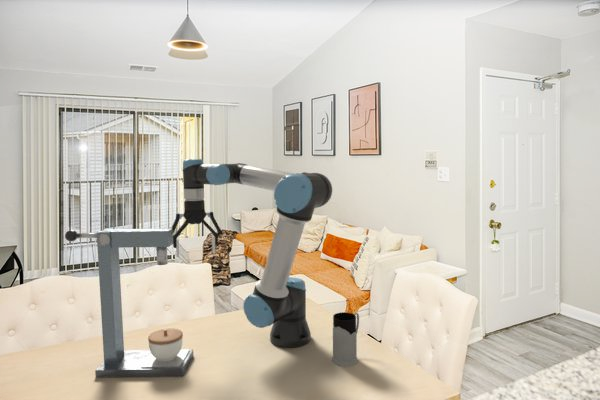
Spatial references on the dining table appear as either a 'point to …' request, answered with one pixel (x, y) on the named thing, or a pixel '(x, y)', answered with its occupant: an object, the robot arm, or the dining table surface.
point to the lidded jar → (165, 344)
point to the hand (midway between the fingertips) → (196, 254)
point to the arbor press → (111, 305)
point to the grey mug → (345, 339)
